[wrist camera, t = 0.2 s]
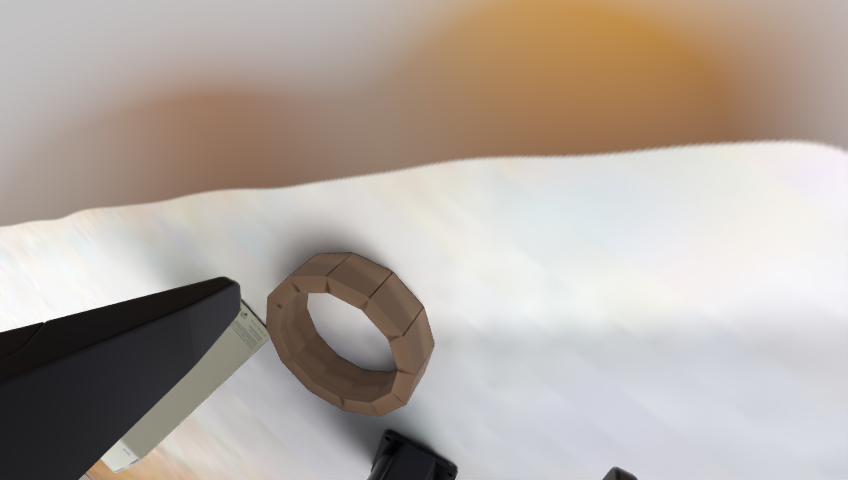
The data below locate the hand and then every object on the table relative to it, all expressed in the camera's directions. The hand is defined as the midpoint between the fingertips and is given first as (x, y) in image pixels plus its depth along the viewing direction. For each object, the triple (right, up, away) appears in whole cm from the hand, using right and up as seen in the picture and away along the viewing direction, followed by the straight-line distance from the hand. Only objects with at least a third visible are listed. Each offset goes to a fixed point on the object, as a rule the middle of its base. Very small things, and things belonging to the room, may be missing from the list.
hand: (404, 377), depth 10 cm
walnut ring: (-4, -3, +22) cm, 22 cm away
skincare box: (-15, -5, +28) cm, 32 cm away
